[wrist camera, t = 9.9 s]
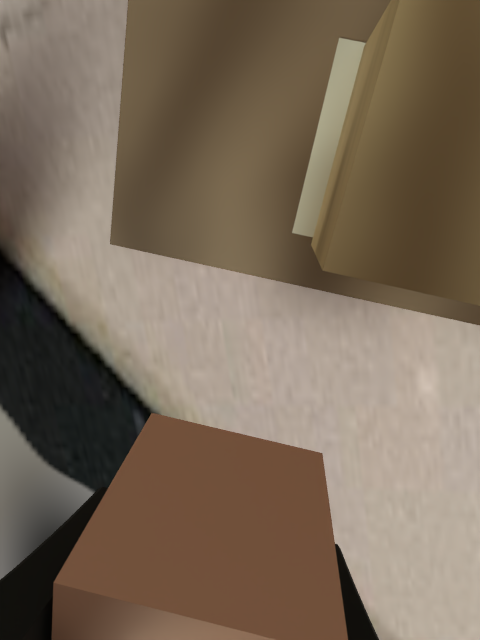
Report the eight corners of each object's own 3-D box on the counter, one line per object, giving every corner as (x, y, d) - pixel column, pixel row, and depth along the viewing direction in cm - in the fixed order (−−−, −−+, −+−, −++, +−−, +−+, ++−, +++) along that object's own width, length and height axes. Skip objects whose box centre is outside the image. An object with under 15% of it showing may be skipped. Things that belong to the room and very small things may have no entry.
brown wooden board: (724, 41, 13) (743, 35, 12) (561, 340, 16) (570, 345, 16) (139, -70, 13) (133, -81, 13) (114, 242, 17) (109, 244, 17)
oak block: (507, 75, 13) (632, 14, 8) (431, 271, 16) (495, 309, 11) (364, 46, 13) (407, -29, 9) (310, 244, 16) (322, 270, 11)
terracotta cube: (322, 453, 10) (350, 658, 6) (281, 573, 11) (279, 805, 7) (151, 412, 10) (52, 582, 6) (135, 536, 11) (48, 741, 7)
